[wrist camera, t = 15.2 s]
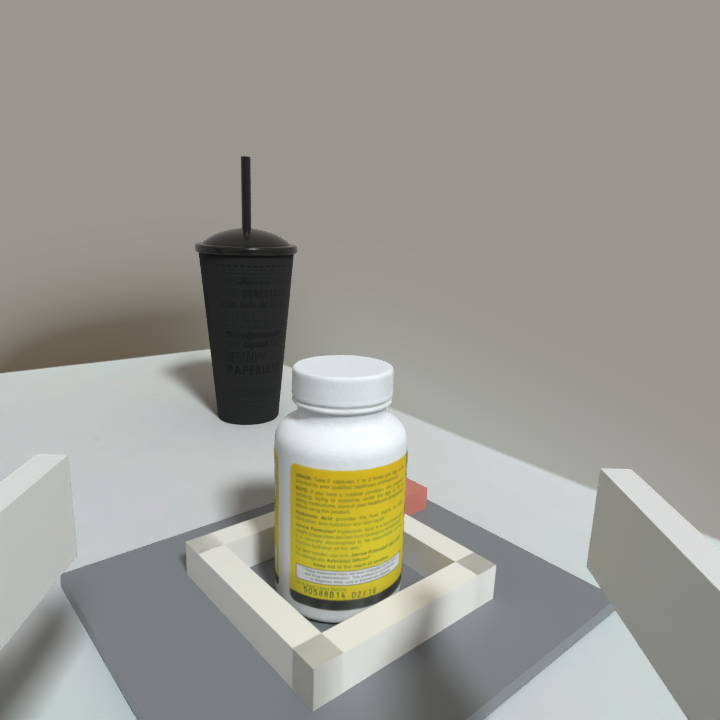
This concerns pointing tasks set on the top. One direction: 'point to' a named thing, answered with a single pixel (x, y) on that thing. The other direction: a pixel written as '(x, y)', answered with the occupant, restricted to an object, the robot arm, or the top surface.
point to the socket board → (329, 626)
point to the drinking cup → (246, 314)
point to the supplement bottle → (339, 489)
